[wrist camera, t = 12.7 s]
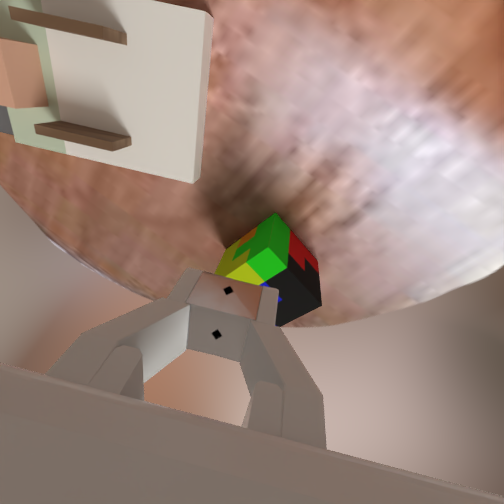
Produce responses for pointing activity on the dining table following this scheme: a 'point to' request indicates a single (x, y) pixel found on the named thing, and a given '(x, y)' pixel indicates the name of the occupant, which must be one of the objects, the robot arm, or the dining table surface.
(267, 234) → the puzzle toy
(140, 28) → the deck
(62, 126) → the channel walls
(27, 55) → the block
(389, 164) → the dining table surface
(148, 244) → the dining table surface
